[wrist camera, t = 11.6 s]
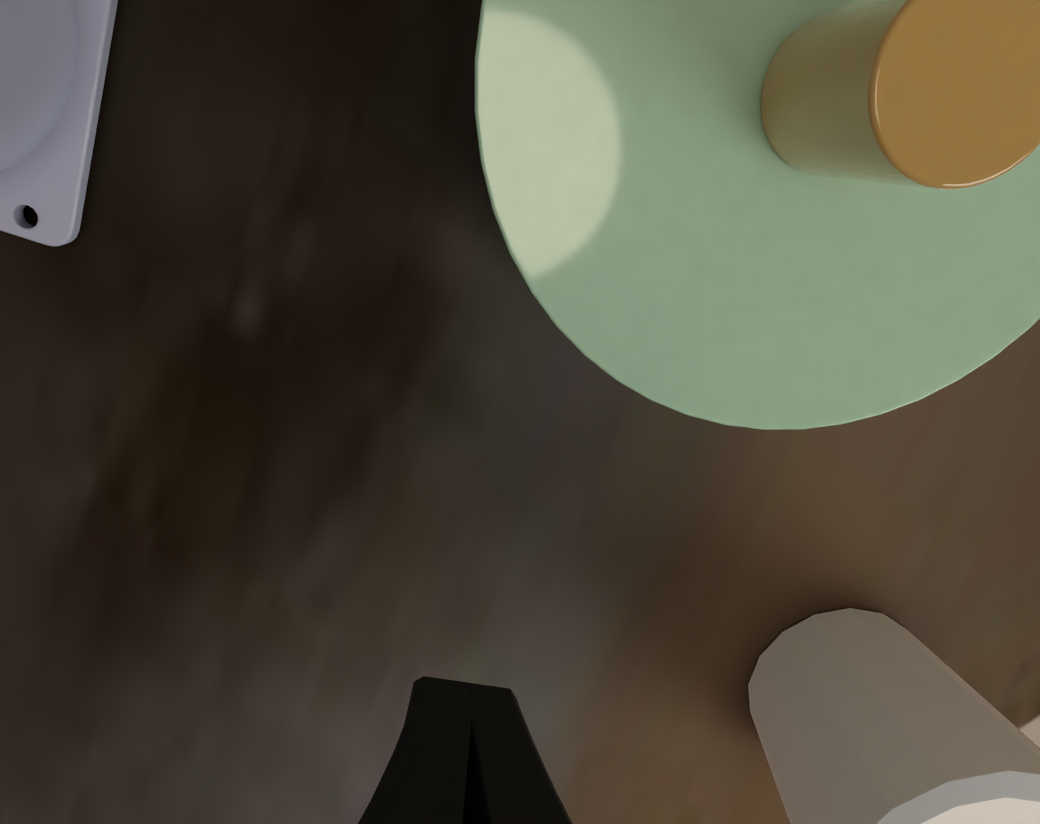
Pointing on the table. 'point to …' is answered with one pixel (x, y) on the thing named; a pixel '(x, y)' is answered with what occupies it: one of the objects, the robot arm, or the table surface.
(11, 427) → the table surface
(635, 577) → the table surface
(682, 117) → the lid
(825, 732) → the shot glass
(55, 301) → the table surface
